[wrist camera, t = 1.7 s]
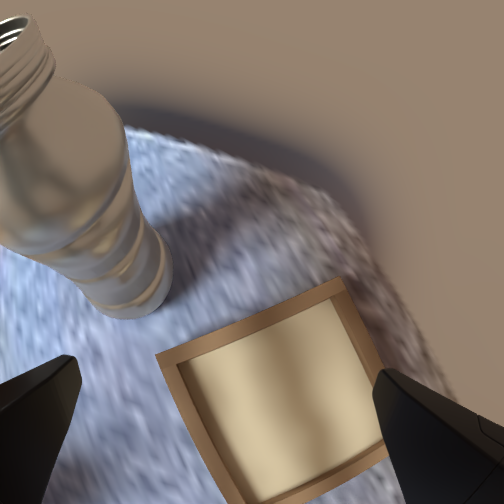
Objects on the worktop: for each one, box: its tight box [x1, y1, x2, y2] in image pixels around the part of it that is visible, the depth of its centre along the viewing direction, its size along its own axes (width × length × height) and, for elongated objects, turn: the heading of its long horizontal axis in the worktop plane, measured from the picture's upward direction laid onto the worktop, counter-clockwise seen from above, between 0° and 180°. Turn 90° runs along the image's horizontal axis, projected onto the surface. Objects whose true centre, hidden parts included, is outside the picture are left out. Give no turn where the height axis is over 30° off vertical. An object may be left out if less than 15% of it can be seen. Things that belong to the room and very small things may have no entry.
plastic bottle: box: [0, 13, 173, 320], centre depth 14 cm, size 6×7×20 cm
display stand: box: [155, 276, 389, 504], centre depth 19 cm, size 13×13×3 cm
